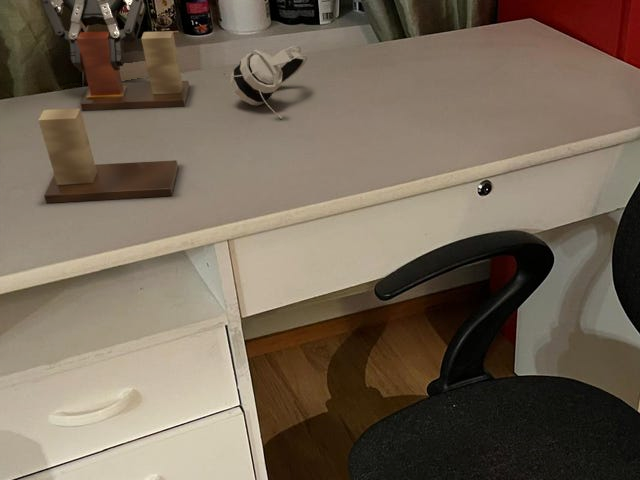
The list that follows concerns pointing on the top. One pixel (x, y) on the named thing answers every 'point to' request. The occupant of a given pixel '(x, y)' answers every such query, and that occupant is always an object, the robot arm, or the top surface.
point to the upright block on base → (163, 80)
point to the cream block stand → (95, 166)
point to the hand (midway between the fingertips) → (98, 67)
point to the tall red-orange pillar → (99, 63)
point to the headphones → (264, 74)
